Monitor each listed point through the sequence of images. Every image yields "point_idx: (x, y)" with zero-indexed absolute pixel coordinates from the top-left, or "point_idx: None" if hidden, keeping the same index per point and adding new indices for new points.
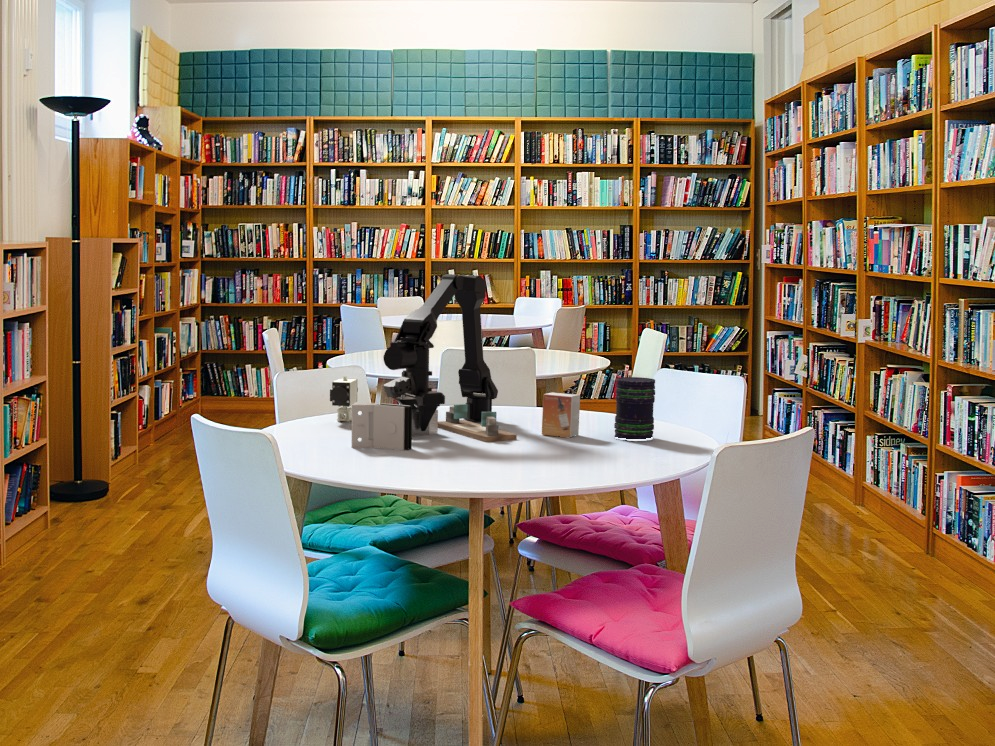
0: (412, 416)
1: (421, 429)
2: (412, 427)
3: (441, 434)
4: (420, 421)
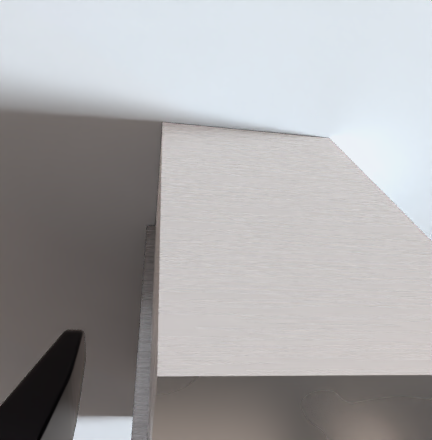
0: (133, 434)
1: (61, 339)
2: (142, 295)
3: (98, 423)
4: (20, 418)
